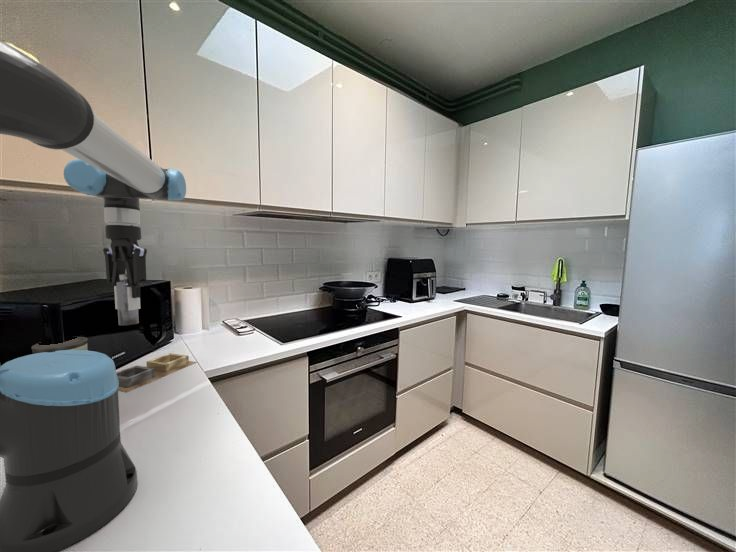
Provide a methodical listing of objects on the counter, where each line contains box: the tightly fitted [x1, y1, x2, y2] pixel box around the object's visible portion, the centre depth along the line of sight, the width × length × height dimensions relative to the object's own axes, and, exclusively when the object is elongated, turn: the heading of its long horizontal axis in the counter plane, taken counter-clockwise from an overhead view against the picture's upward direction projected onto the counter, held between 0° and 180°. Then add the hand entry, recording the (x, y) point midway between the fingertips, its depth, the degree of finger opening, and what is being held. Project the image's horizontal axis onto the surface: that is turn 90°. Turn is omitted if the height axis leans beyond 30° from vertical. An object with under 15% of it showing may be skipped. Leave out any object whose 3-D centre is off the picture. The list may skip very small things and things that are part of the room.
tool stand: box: [116, 352, 198, 393], centre depth 88 cm, size 22×12×4 cm, turn 164°
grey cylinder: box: [116, 273, 140, 326], centre depth 81 cm, size 4×4×14 cm
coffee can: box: [31, 336, 89, 354], centre depth 78 cm, size 10×10×14 cm
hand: (128, 308), depth 81 cm, fingers closed on grey cylinder, 4 cm apart
